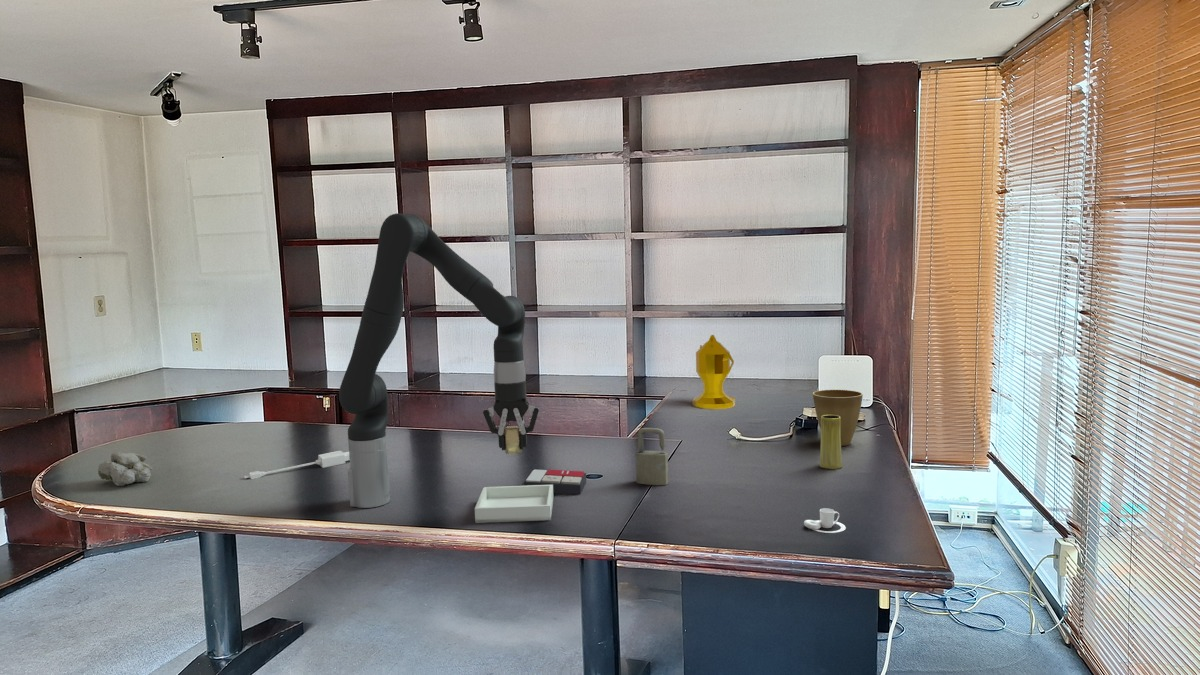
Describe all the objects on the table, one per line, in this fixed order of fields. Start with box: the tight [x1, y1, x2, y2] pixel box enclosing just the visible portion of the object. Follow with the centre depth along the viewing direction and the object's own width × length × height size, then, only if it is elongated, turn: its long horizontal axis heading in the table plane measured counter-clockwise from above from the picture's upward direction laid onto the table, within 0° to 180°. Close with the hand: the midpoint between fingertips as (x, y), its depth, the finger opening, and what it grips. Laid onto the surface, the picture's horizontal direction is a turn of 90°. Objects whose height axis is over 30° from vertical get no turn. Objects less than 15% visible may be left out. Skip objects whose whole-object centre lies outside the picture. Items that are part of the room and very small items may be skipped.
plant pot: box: [812, 389, 863, 447], centre depth 242 cm, size 15×15×16 cm
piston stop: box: [504, 425, 523, 455], centre depth 188 cm, size 4×4×6 cm
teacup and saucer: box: [803, 507, 847, 534], centre depth 172 cm, size 9×8×4 cm
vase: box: [819, 415, 843, 470], centre depth 217 cm, size 6×6×14 cm
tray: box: [474, 485, 554, 524], centre depth 190 cm, size 18×17×4 cm
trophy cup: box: [691, 334, 736, 410], centre depth 308 cm, size 18×24×28 cm
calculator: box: [523, 469, 587, 496], centre depth 206 cm, size 11×4×15 cm
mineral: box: [97, 451, 154, 487], centre depth 224 cm, size 12×17×10 cm
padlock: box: [635, 427, 669, 486], centre depth 208 cm, size 4×8×15 cm, turn 70°
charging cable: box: [243, 450, 350, 480], centre depth 234 cm, size 5×32×3 cm, turn 123°
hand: (513, 448), depth 188 cm, fingers closed on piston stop, 4 cm apart
